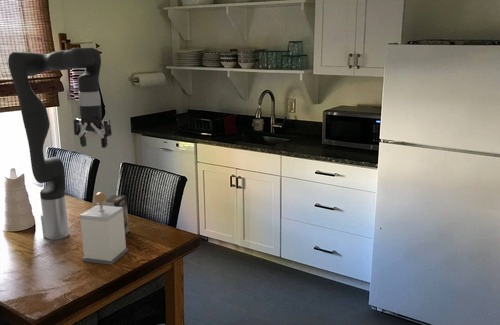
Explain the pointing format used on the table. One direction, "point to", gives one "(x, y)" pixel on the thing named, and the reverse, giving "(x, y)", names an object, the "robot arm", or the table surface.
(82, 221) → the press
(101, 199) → the plunger
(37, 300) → the table surface
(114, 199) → the coffee box
